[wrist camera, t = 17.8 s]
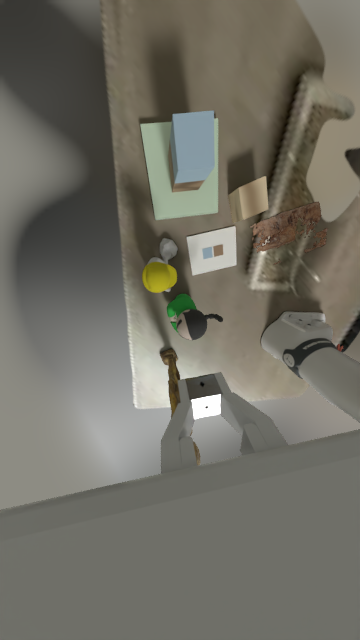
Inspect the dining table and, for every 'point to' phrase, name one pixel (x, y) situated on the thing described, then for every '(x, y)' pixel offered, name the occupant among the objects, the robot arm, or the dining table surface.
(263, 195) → the oak brick
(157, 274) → the figurine
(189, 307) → the toy
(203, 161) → the blue brick
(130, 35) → the dining table surface
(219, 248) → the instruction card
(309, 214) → the bark
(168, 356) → the sculpture
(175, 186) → the walnut brick
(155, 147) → the plate
